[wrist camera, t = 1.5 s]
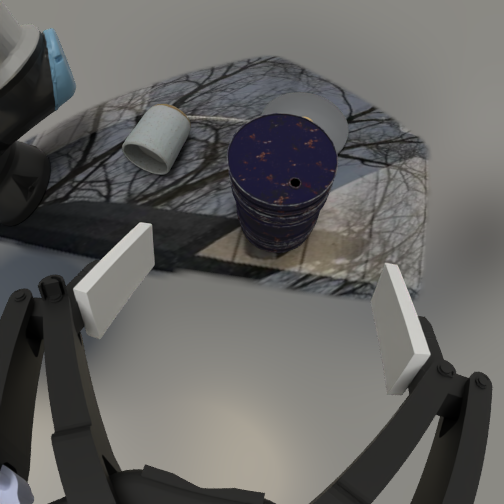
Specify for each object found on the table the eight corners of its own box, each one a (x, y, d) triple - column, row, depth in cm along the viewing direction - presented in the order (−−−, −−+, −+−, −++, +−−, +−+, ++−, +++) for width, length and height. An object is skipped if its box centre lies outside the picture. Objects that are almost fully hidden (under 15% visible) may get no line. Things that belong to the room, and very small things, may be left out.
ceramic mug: (198, 134, 44) (187, 101, 36) (175, 180, 42) (158, 150, 35) (141, 124, 45) (124, 94, 38) (117, 165, 43) (95, 138, 36)
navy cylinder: (229, 194, 41) (212, 127, 27) (298, 174, 42) (311, 102, 27) (252, 264, 39) (245, 223, 24) (325, 239, 39) (358, 189, 25)
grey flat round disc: (246, 113, 45) (245, 106, 43) (318, 90, 45) (319, 84, 44) (285, 178, 41) (286, 173, 40) (362, 149, 42) (365, 143, 41)
